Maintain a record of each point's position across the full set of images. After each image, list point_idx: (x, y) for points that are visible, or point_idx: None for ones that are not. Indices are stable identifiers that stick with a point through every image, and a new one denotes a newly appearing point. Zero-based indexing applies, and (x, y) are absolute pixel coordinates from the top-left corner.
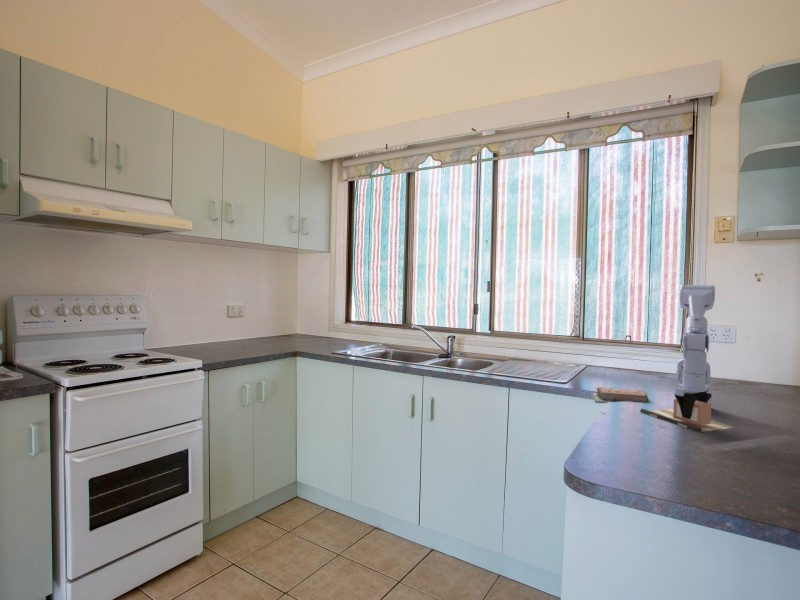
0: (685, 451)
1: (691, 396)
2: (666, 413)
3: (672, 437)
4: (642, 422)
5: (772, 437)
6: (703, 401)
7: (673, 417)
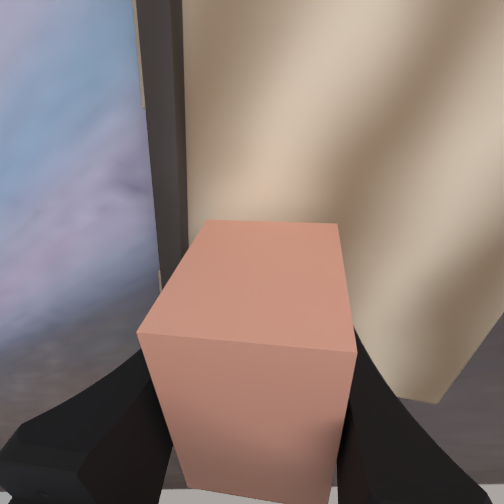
0: (16, 363)
1: (355, 449)
2: (387, 30)
3: (63, 290)
4: (56, 47)
5: (492, 452)
6: (338, 485)
7: (205, 223)
